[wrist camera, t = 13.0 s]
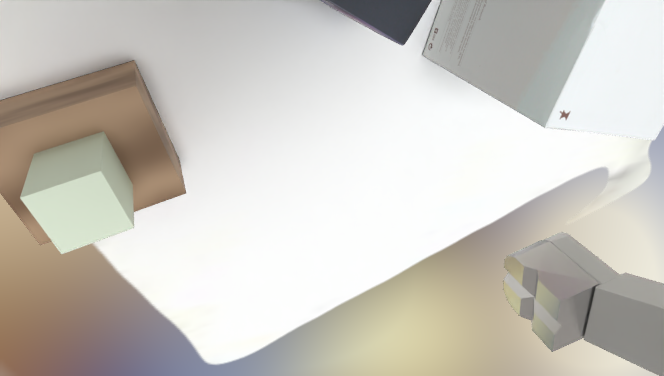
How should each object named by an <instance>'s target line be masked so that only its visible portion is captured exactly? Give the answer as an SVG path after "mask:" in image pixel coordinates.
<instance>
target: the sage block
mask: <svg viewBox="0 0 664 376" xmlns="http://www.w3.org/2000/svg"><path fill="white" fill-rule="evenodd" d="M20 199H21V200H22V201H23V203H24V204H25V205H26V207H27V208H28V210H29V211H30V212H31V214H32V215H33V216H34V218H35V219H36V220H37V222H38V223H39V224H40V226H41V227H42V228H43V230H44V231H45V232H46V234H47V235H48V237H49V238H50V239H51V241H52V242H53V243H54V245H55V246H56V247H57V249H58V250H59V251H60V253H61V254H63V253H66V252H69V251H72V250H75V249H77V248H80V247H83V246H86V245H88V244H91V243H94V242H97V241H99V240H102V239H105V238H108V237H110V236H113V235H116V234H119V233H121V232H124V231H127V230H130V229H132V228H134V208H133V184H132V182H131V180H130V179H129V177H128V175H127V173H126V171H125V169H124V168H123V166H122V164H121V162H120V160H119V158H118V157H117V155H116V153H115V151H114V149H113V147H112V145H111V144H110V142H109V140H108V138H107V136H106V134H105V133H104V131H103V132H100V133H97V134H94V135H90V136H87V137H84V138H81V139H78V140H75V141H72V142H69V143H66V144H63V145H59V146H56V147H53V148H50V149H47V150H44V151H41V152H38V153H35V154H34V155H33V158H32V162H31V165H30V168H29V171H28V174H27V177H26V181H25V184H24V187H23V190H22V193H21V196H20Z"/></svg>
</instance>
